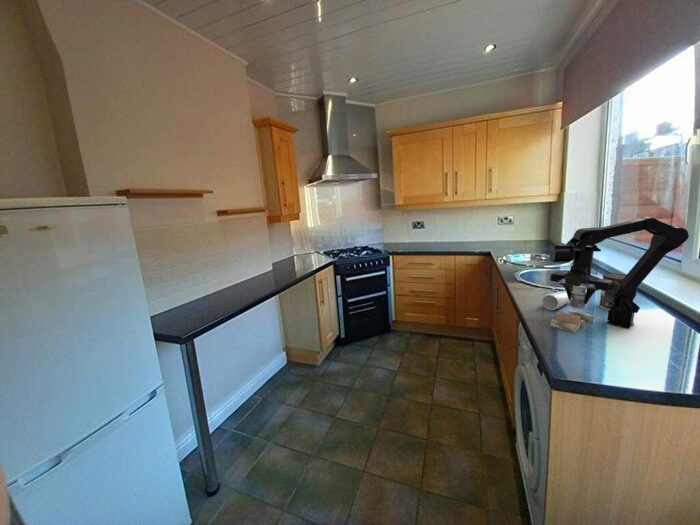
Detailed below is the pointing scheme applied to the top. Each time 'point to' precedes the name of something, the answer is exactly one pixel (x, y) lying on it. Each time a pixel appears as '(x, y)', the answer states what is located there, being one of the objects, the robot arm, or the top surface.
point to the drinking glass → (555, 300)
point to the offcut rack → (569, 326)
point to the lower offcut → (574, 324)
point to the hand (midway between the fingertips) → (577, 302)
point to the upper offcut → (568, 318)
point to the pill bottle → (578, 297)
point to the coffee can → (603, 301)
